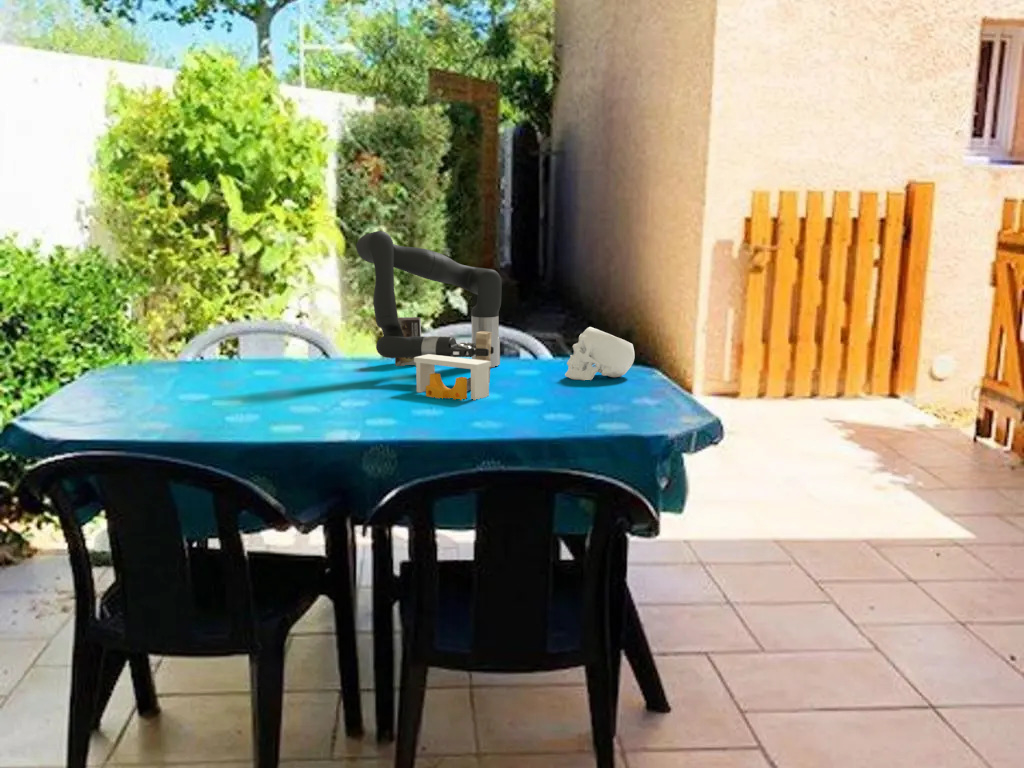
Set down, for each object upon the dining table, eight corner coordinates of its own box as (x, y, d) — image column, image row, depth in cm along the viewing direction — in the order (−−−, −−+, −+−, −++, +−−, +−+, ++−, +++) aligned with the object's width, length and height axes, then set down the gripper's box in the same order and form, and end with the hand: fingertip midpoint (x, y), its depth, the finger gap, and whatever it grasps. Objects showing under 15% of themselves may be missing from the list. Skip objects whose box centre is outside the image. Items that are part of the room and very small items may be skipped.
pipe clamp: (426, 396, 300) (425, 375, 299) (435, 394, 304) (435, 373, 302) (457, 401, 293) (457, 379, 292) (466, 399, 297) (466, 377, 295)
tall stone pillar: (479, 381, 318) (481, 330, 315) (489, 382, 317) (491, 332, 314) (450, 394, 300) (452, 341, 296) (461, 396, 299) (463, 342, 295)
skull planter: (555, 368, 334) (582, 317, 332) (607, 394, 338) (634, 344, 336) (562, 376, 321) (590, 322, 318) (616, 403, 325) (645, 351, 322)
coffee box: (422, 362, 356) (421, 316, 353) (421, 365, 350) (420, 319, 347) (396, 362, 356) (395, 316, 353) (394, 366, 350) (393, 319, 347)
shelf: (429, 387, 312) (428, 354, 310) (491, 396, 300) (490, 361, 298) (414, 391, 306) (414, 357, 304) (477, 400, 294) (477, 364, 292)
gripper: (430, 339, 311) (483, 342, 306) (447, 333, 324) (498, 336, 319) (430, 364, 312) (483, 367, 307) (447, 356, 326) (498, 359, 320)
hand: (490, 351), depth 313 cm, fingers open, 4 cm apart
